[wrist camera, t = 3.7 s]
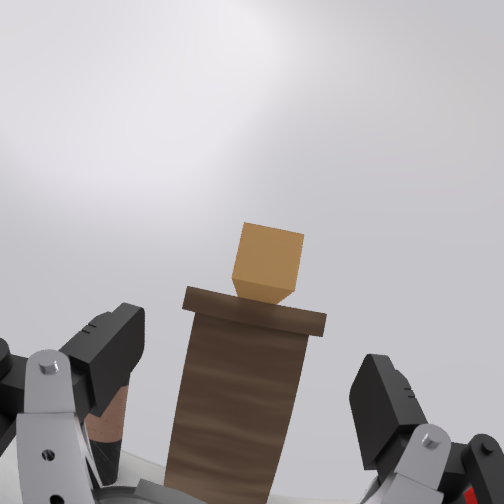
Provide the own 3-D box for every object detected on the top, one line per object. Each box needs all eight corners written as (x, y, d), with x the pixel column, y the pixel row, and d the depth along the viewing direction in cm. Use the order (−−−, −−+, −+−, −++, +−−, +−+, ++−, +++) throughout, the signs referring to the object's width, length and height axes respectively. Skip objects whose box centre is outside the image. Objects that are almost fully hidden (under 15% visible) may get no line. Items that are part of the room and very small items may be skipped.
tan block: (294, 290, 15) (304, 234, 15) (231, 278, 15) (244, 222, 16) (265, 312, 40) (269, 291, 41) (242, 307, 40) (246, 286, 41)
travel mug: (124, 488, 30) (138, 374, 35) (75, 483, 26) (82, 362, 30) (112, 463, 36) (125, 359, 41) (70, 457, 32) (78, 349, 37)
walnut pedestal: (251, 574, 17) (326, 313, 24) (144, 552, 17) (187, 285, 25) (250, 509, 32) (296, 318, 40) (173, 493, 33) (210, 301, 40)
